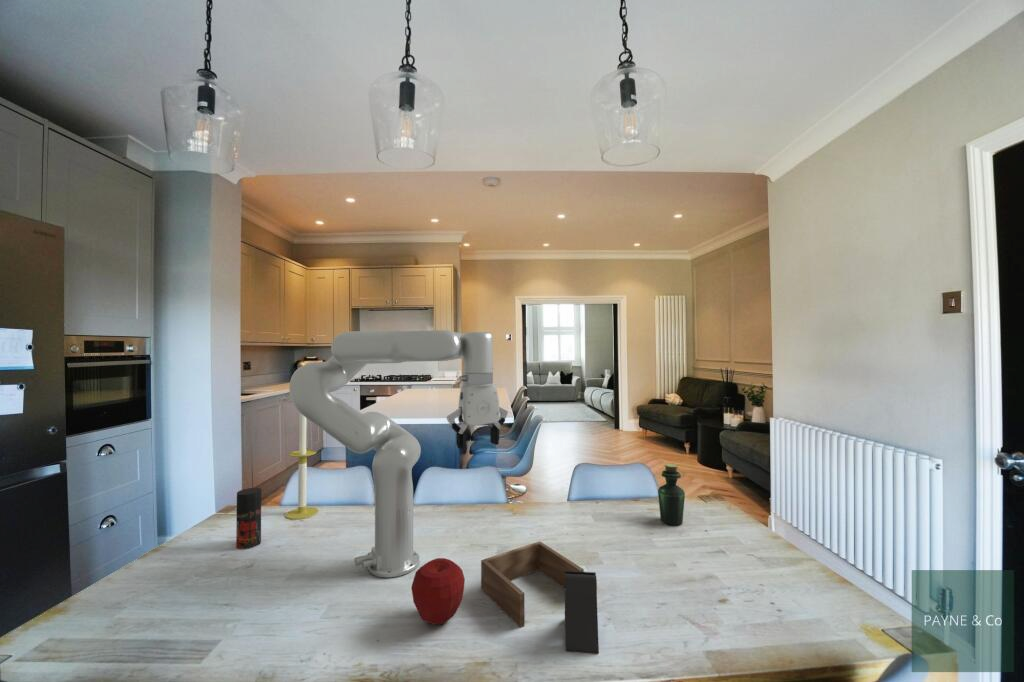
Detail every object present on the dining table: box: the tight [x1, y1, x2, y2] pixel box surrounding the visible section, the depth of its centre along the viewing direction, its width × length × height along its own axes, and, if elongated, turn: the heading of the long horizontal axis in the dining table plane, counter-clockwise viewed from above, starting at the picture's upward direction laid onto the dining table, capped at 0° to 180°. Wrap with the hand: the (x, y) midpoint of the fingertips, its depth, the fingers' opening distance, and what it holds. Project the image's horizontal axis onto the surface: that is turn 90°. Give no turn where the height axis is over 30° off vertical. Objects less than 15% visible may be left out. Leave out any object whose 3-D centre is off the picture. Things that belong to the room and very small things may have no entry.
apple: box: [411, 557, 466, 626], centre depth 85 cm, size 11×11×12 cm
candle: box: [284, 412, 319, 521], centre depth 139 cm, size 10×10×38 cm
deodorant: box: [235, 487, 262, 550], centre depth 117 cm, size 6×6×15 cm
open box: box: [480, 541, 585, 628], centre depth 93 cm, size 17×16×6 cm
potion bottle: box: [657, 463, 686, 527], centre depth 132 cm, size 8×8×18 cm
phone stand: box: [564, 571, 600, 654], centre depth 80 cm, size 9×6×12 cm, turn 174°
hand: (478, 446), depth 106 cm, fingers open, 9 cm apart
